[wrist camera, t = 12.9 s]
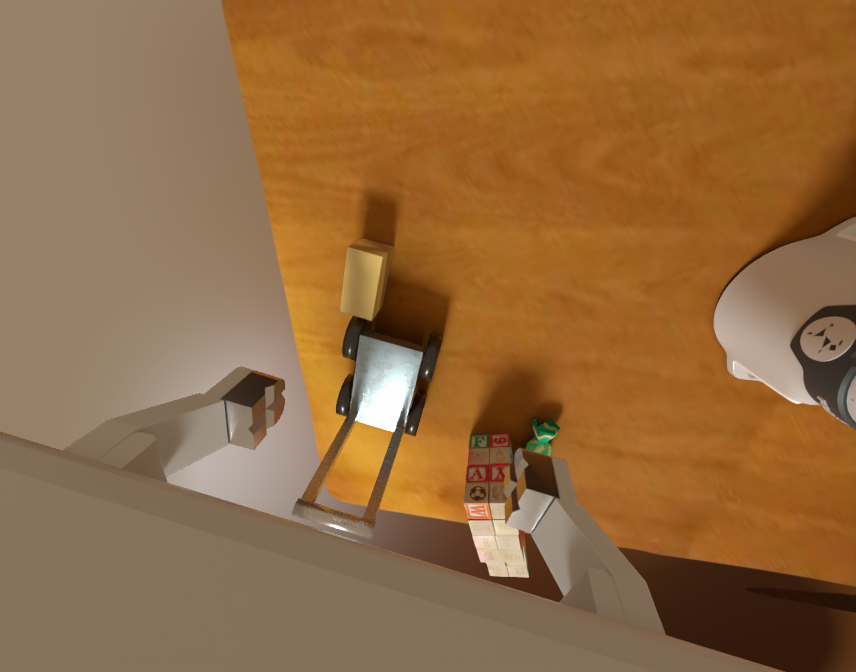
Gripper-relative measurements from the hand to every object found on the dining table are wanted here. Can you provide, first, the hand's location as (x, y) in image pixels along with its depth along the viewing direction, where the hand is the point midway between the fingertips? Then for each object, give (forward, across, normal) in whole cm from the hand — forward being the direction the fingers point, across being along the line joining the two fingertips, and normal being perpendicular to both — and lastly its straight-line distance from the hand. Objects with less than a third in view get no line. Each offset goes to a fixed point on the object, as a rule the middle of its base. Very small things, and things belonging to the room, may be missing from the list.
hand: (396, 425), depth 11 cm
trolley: (+31, +5, +20) cm, 37 cm away
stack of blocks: (+32, -16, +37) cm, 51 cm away
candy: (+32, -19, +28) cm, 46 cm away
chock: (+31, +10, +7) cm, 34 cm away
